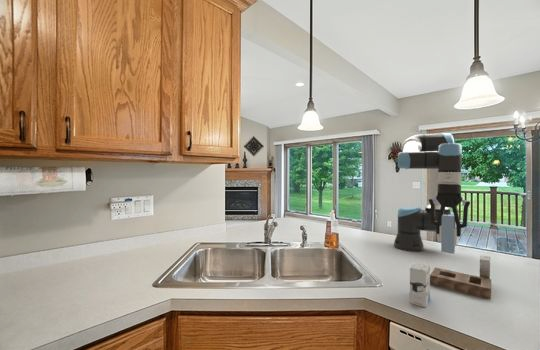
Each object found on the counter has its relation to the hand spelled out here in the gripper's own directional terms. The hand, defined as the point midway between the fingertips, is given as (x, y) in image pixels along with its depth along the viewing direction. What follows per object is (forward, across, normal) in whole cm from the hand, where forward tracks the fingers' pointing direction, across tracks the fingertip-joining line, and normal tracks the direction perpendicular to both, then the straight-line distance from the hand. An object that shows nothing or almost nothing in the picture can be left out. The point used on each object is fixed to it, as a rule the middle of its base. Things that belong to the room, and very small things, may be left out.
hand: (448, 243), depth 102 cm
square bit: (+3, 0, 0) cm, 3 cm away
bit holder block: (+16, +4, 0) cm, 16 cm away
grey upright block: (+16, +11, +10) cm, 22 cm away
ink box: (+16, -5, -23) cm, 28 cm away
